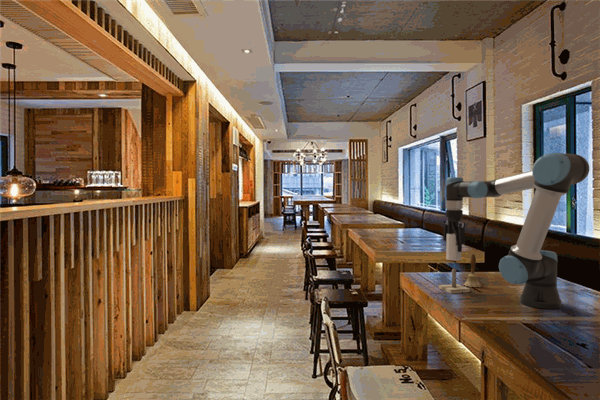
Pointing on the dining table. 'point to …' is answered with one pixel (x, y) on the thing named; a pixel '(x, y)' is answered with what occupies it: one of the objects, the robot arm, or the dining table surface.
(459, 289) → the stand
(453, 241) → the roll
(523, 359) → the dining table surface
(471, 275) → the hand bell
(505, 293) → the dining table surface
